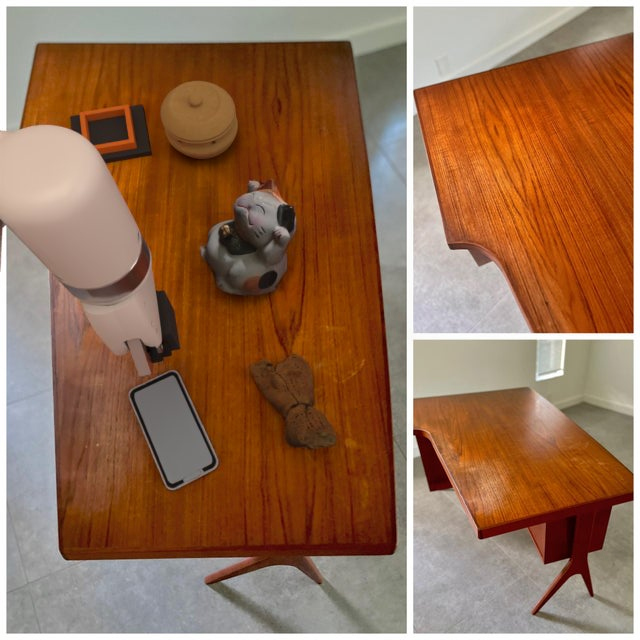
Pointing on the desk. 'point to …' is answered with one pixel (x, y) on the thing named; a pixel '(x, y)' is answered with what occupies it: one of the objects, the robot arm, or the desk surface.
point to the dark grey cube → (167, 321)
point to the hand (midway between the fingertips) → (154, 331)
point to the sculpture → (294, 401)
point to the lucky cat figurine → (252, 242)
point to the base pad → (115, 131)
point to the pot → (199, 119)
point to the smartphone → (173, 430)
